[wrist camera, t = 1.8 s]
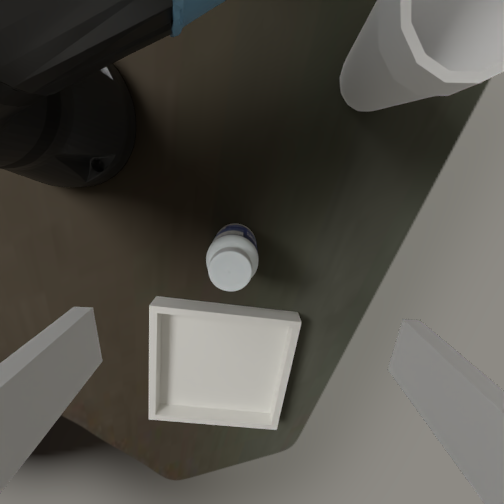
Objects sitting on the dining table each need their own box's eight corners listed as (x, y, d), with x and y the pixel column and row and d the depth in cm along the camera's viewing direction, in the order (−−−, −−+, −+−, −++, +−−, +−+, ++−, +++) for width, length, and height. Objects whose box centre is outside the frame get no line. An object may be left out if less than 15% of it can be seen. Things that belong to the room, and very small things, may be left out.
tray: (154, 404, 39) (148, 419, 36) (156, 296, 33) (149, 305, 30) (274, 414, 40) (276, 429, 37) (297, 311, 34) (301, 322, 31)
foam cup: (390, 137, 27) (511, 103, 15) (313, 115, 26) (373, 60, 14) (428, 38, 24) (618, -108, 12) (343, 10, 23) (452, -178, 11)
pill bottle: (258, 260, 31) (263, 295, 22) (218, 264, 31) (206, 301, 22) (253, 220, 30) (256, 239, 20) (211, 225, 30) (195, 247, 20)
